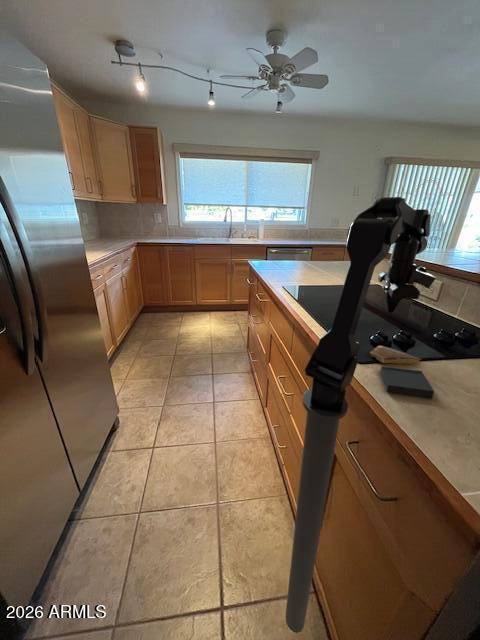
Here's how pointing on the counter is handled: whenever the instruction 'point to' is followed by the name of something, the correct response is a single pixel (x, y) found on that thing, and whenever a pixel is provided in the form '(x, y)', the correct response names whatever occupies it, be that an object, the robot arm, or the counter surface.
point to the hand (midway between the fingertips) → (390, 312)
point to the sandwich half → (392, 356)
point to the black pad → (406, 382)
